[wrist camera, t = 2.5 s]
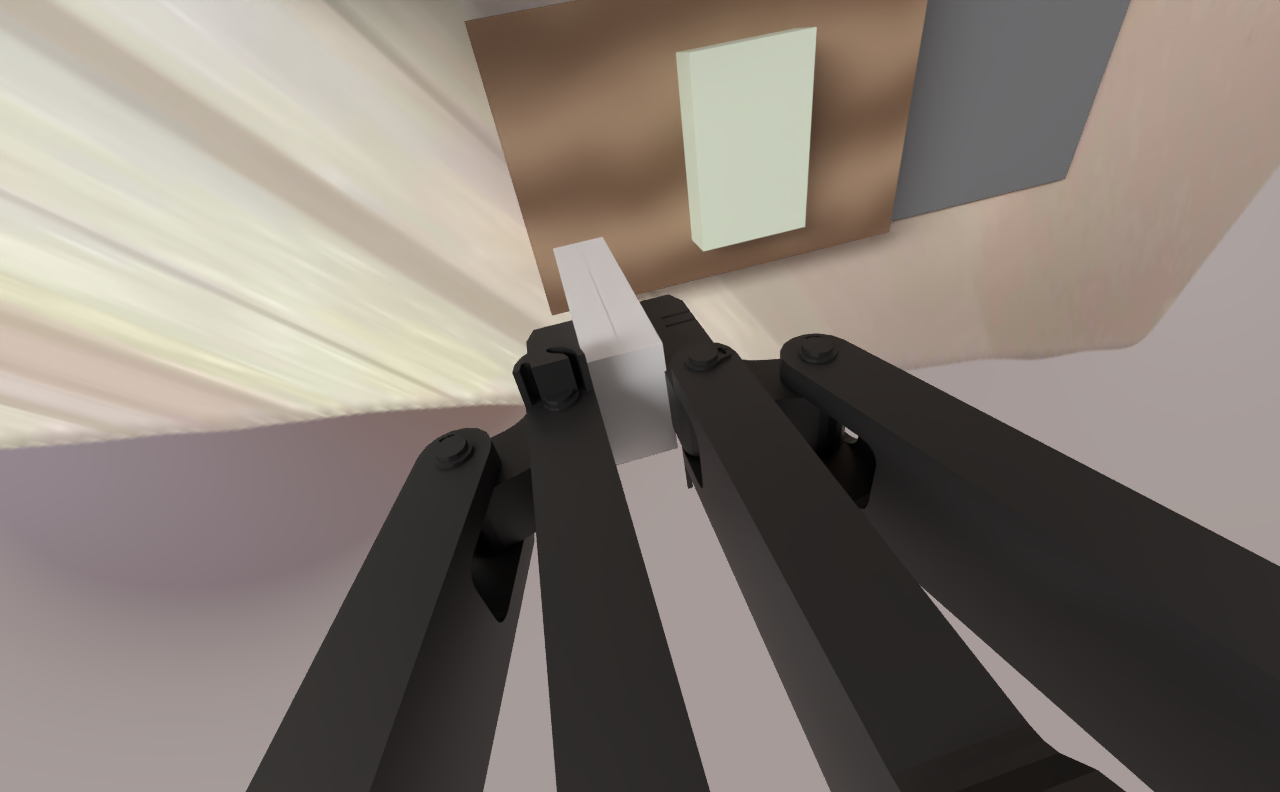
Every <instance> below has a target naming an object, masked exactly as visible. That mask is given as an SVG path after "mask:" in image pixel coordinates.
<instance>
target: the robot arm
mask: <svg viewBox="0 0 1280 792" xmlns="http://www.w3.org/2000/svg"><path fill="white" fill-rule="evenodd" d="M553 251H554V254H555V258H556V262H557V266H558V269H559V273H560V277H561V280H562V284H563V288H564V291H565V295H566V299H567V303H568V306H569V310H570V314H571V317H572V321H568V322H564V323H560V324H556V325H552V326H548V327H544V328H540V329H536V330H533V332H532V334H531V335H530V337H529V339H528V340H527V342H526V343H527V354H526V355H524V356H523V357H521V359H520V360H519V361H518V362H517V363H516V364H515V366H514V369H513V372H512V373H513V376H514V378H515V381H516V384H517V386H518V389H519V391H520V394H521V396H522V399H523V402H524V404H525V407H526V412H527V414H526V415H525V416H524V418H523V419H521V420H520V421H519V422H518V423H517V424H515V425H514V426H512V427H511V428H509V429H507V430H506V431H504V432H502V433H500V434H498V435H496V436H494V437H492V438H490V437H489V435H488V434H487V432H485V431H483V430H480V429H478V428H464V429H459V430H455V431H451V432H449V433H447V434H445V435H442V436H441V437H439V438H437V439H436V440H434V441H433V442H432V443H430V444H429V445H428V446H427V447H426V448H425V449H424V450H423V452H422V453H421V454H420V455H419V457H418V458H417V460H416V462H415V464H414V466H413V468H412V470H411V472H410V474H409V476H408V478H407V480H406V482H405V484H404V486H403V488H402V489H401V491H400V493H399V495H398V497H397V499H396V501H395V503H394V505H393V507H392V509H391V511H390V513H389V515H388V517H387V519H386V521H385V522H384V524H383V526H382V528H381V530H380V532H379V534H378V536H377V538H376V540H375V542H374V544H373V546H372V548H371V550H370V552H369V554H368V555H367V558H366V559H365V561H364V563H363V565H362V567H361V569H360V571H359V573H358V575H357V577H356V579H355V581H354V583H353V585H352V587H351V588H350V591H349V592H348V595H347V596H346V598H345V600H344V602H343V604H342V606H341V608H340V610H339V612H338V614H337V616H336V618H335V620H334V622H333V624H332V625H331V627H330V629H329V631H328V633H327V635H326V637H325V639H324V641H323V643H322V645H321V647H320V649H319V651H318V653H317V655H316V656H315V658H314V660H313V662H312V664H311V666H310V668H309V670H308V672H307V674H306V676H305V678H304V680H303V682H302V684H301V686H300V688H299V689H298V691H297V693H296V695H295V698H294V699H293V701H292V703H291V705H290V707H289V709H288V711H287V713H286V715H285V717H284V719H283V721H282V722H281V724H280V727H279V728H278V730H277V732H276V734H275V736H274V738H273V740H272V742H271V744H270V746H269V748H268V750H267V752H266V754H265V756H264V757H263V759H262V761H261V763H260V765H259V767H258V769H257V771H256V773H255V775H254V777H253V779H252V781H251V783H250V785H249V787H248V789H247V790H246V792H483V789H484V784H485V779H486V774H487V769H488V765H489V759H490V755H491V750H492V745H493V740H494V735H495V730H496V726H497V721H498V716H499V711H500V706H501V701H502V696H503V691H504V687H505V681H506V677H507V672H508V667H509V662H510V657H511V652H512V647H513V643H514V638H515V633H516V628H517V623H518V618H519V613H520V609H521V604H522V599H523V593H524V589H525V584H526V579H527V574H528V570H529V565H530V560H531V555H532V550H533V545H534V533H535V532H536V537H537V548H538V562H539V574H540V587H541V599H542V612H543V624H544V636H545V649H546V660H547V674H548V686H549V698H550V710H551V723H552V735H553V748H554V760H555V773H556V785H557V792H710V790H709V786H708V783H707V779H706V776H705V773H704V769H703V766H702V762H701V759H700V755H699V752H698V748H697V745H696V741H695V738H694V734H693V731H692V728H691V724H690V720H689V717H688V713H687V710H686V706H685V703H684V699H683V696H682V693H681V689H680V686H679V682H678V679H677V675H676V672H675V668H674V665H673V662H672V658H671V655H670V651H669V648H668V644H667V641H666V637H665V634H664V630H663V627H662V623H661V620H660V617H659V613H658V609H657V606H656V603H655V599H654V595H653V592H652V588H651V585H650V582H649V578H648V574H647V571H646V568H645V564H644V561H643V557H642V554H641V550H640V547H639V543H638V540H637V536H636V533H635V529H634V526H633V522H632V519H631V516H630V512H629V509H628V505H627V502H626V499H625V495H624V491H623V488H622V484H621V481H620V477H619V474H618V471H617V467H616V465H619V464H623V463H627V462H630V461H633V460H637V459H641V458H644V457H648V456H651V455H655V454H658V453H661V452H665V451H669V450H672V449H676V448H677V447H678V446H677V439H676V434H677V436H678V438H679V440H680V443H681V445H682V450H683V457H684V463H685V471H686V479H687V485H688V488H692V487H693V484H694V486H695V489H696V491H697V493H698V495H699V497H700V500H701V502H702V504H703V507H704V509H705V511H706V513H707V515H708V518H709V520H710V522H711V524H712V527H713V529H714V531H715V533H716V536H717V538H718V540H719V542H720V544H721V547H722V549H723V551H724V553H725V556H726V558H727V560H728V562H729V565H730V567H731V569H732V571H733V574H734V576H735V578H736V580H737V582H738V585H739V587H740V589H741V591H742V593H743V596H744V598H745V600H746V603H747V605H748V607H749V609H750V612H751V614H752V616H753V618H754V621H755V623H756V625H757V627H758V629H759V632H760V634H761V636H762V638H763V641H764V643H765V645H766V647H767V650H768V652H769V654H770V656H771V659H772V661H773V663H774V665H775V668H776V670H777V672H778V674H779V677H780V679H781V681H782V683H783V685H784V688H785V690H786V692H787V694H788V697H789V699H790V701H791V703H792V706H793V708H794V710H795V712H796V715H797V717H798V719H799V721H800V723H801V726H802V728H803V730H804V732H805V734H806V737H807V739H808V741H809V743H810V746H811V748H812V750H813V752H814V755H815V757H816V759H817V762H818V764H819V766H820V768H821V771H822V773H823V775H824V777H825V779H826V782H827V784H828V786H829V788H830V791H831V792H1126V791H1124V790H1123V789H1122V788H1120V787H1119V786H1118V785H1116V784H1115V783H1114V782H1113V781H1111V780H1110V779H1109V778H1107V777H1106V776H1105V775H1103V774H1102V773H1101V772H1099V771H1098V770H1096V769H1094V768H1092V767H1090V766H1087V765H1085V764H1083V763H1081V762H1079V761H1076V760H1074V759H1072V758H1070V757H1067V756H1065V755H1063V754H1061V753H1059V752H1058V751H1056V750H1055V749H1054V748H1053V747H1051V746H1050V745H1049V744H1047V743H1046V742H1045V741H1044V740H1043V739H1042V738H1041V737H1040V736H1039V735H1038V734H1037V733H1036V731H1034V730H1033V728H1032V727H1031V726H1030V725H1029V724H1028V722H1027V721H1026V720H1025V719H1024V717H1023V716H1022V715H1021V714H1020V713H1019V711H1018V710H1017V709H1016V707H1015V706H1014V705H1013V704H1012V702H1011V701H1010V700H1009V698H1008V697H1007V696H1006V694H1005V693H1004V692H1003V691H1002V689H1001V688H1000V687H999V686H998V685H997V683H996V682H995V681H994V679H993V678H992V677H991V675H990V674H989V673H988V672H987V670H986V669H985V668H984V667H983V666H982V664H981V663H980V661H979V660H978V659H977V658H976V657H975V655H974V654H973V653H972V651H971V650H970V649H969V647H968V646H967V645H966V644H965V642H964V641H963V640H962V639H961V637H960V636H959V635H958V633H957V632H956V631H955V630H954V628H953V627H952V626H951V625H950V623H949V622H948V621H947V620H946V618H945V617H944V616H943V615H942V613H941V612H940V611H939V610H938V608H937V607H936V606H935V604H934V603H933V602H932V601H931V599H930V598H929V597H928V595H927V594H926V593H925V592H924V590H923V589H922V588H921V587H923V588H924V589H925V590H926V591H927V592H929V594H931V595H932V596H933V597H934V598H935V599H936V600H937V601H939V602H940V603H941V604H942V605H943V606H944V607H945V608H946V609H948V610H949V611H950V612H951V613H952V614H953V615H954V616H956V617H957V618H958V619H959V620H960V621H961V622H962V623H963V624H965V625H966V626H967V627H968V628H969V629H970V630H972V631H973V632H974V633H975V634H976V635H977V636H978V637H979V638H981V639H982V640H983V641H984V642H985V643H986V644H987V645H988V646H990V647H991V648H992V649H993V650H994V651H995V652H996V653H998V654H999V655H1000V656H1001V657H1002V658H1003V659H1004V660H1005V661H1007V662H1008V663H1009V664H1010V665H1011V666H1012V667H1013V668H1015V669H1016V670H1017V671H1018V672H1019V673H1020V674H1021V675H1022V676H1024V677H1025V678H1026V679H1027V680H1028V681H1029V682H1030V683H1032V684H1033V685H1034V686H1035V687H1036V688H1037V689H1038V690H1040V691H1041V692H1042V693H1043V694H1044V695H1045V696H1046V697H1047V698H1049V699H1050V700H1051V701H1052V702H1053V703H1054V704H1055V705H1056V706H1058V707H1059V708H1060V709H1061V710H1062V711H1063V712H1065V713H1066V714H1067V715H1068V716H1069V717H1070V718H1071V719H1073V720H1074V721H1075V722H1076V723H1077V724H1078V725H1079V726H1080V727H1082V728H1083V729H1084V730H1085V731H1086V732H1087V733H1088V734H1089V735H1091V736H1092V737H1093V738H1094V739H1095V740H1096V741H1097V742H1099V743H1100V744H1101V745H1102V746H1103V747H1104V748H1105V749H1106V750H1108V751H1109V752H1110V753H1111V754H1112V755H1113V756H1114V757H1116V758H1117V759H1118V760H1119V761H1120V762H1121V763H1122V764H1123V765H1125V766H1126V767H1127V768H1128V769H1129V770H1130V771H1131V772H1133V773H1134V774H1135V775H1136V776H1137V777H1138V778H1139V779H1141V780H1142V781H1143V782H1144V783H1145V784H1146V785H1147V786H1148V787H1150V788H1151V789H1152V790H1153V791H1154V792H1280V566H1278V565H1276V564H1274V563H1272V562H1270V561H1268V560H1266V559H1264V558H1263V557H1260V556H1259V555H1257V554H1255V553H1253V552H1251V551H1249V550H1247V549H1245V548H1243V547H1241V546H1240V545H1238V544H1236V543H1234V542H1232V541H1230V540H1228V539H1226V538H1224V537H1222V536H1220V535H1218V534H1216V533H1214V532H1212V531H1211V530H1208V529H1207V528H1205V527H1203V526H1201V525H1199V524H1197V523H1195V522H1193V521H1191V520H1190V519H1188V518H1186V517H1184V516H1182V515H1180V514H1178V513H1176V512H1174V511H1172V510H1170V509H1168V508H1166V507H1164V506H1163V505H1161V504H1159V503H1157V502H1155V501H1153V500H1151V499H1149V498H1147V497H1145V496H1143V495H1141V494H1140V493H1138V492H1136V491H1134V490H1132V489H1130V488H1128V487H1126V486H1124V485H1122V484H1120V483H1118V482H1116V481H1115V480H1112V479H1111V478H1109V477H1107V476H1105V475H1103V474H1101V473H1099V472H1097V471H1095V470H1093V469H1092V468H1090V467H1088V466H1086V465H1084V464H1082V463H1080V462H1078V461H1076V460H1074V459H1072V458H1070V457H1068V456H1066V455H1065V454H1063V453H1061V452H1059V451H1057V450H1055V449H1053V448H1051V447H1049V446H1047V445H1045V444H1043V443H1042V442H1039V441H1038V440H1036V439H1034V438H1032V437H1030V436H1028V435H1026V434H1024V433H1022V432H1020V431H1018V430H1017V429H1014V428H1013V427H1011V426H1009V425H1007V424H1005V423H1003V422H1001V421H999V420H997V419H995V418H993V417H992V416H990V415H987V414H986V413H984V412H982V411H980V410H978V409H976V408H974V407H972V406H970V405H968V404H966V403H965V402H963V401H961V400H959V399H957V398H955V397H953V396H951V395H949V394H947V393H945V392H944V391H941V390H940V389H938V388H936V387H934V386H932V385H930V384H928V383H926V382H924V381H922V380H920V379H919V378H917V377H915V376H913V375H911V374H909V373H907V372H905V371H903V370H901V369H899V368H897V367H895V366H894V365H892V364H890V363H888V362H886V361H884V360H882V359H880V358H878V357H876V356H874V355H872V354H870V353H869V352H867V351H865V350H863V349H861V348H859V347H857V346H855V345H853V344H851V343H849V342H847V341H845V340H843V339H841V338H838V337H835V336H832V335H825V334H806V335H802V336H798V337H795V338H792V339H791V340H789V341H788V342H786V343H785V344H784V345H783V347H782V349H781V350H780V359H772V360H742V359H741V358H740V356H739V355H738V354H737V353H736V352H735V351H734V350H733V349H732V348H730V347H729V346H726V345H723V344H720V343H713V341H712V340H711V339H710V337H709V336H708V335H707V333H706V332H705V330H704V329H703V328H702V326H701V325H700V324H699V322H698V321H697V320H696V319H695V317H694V316H693V314H692V313H691V312H690V310H689V309H688V308H687V306H686V305H685V303H684V302H683V301H682V300H680V299H677V298H675V297H673V296H671V295H669V294H668V295H665V296H661V297H657V298H653V299H649V300H645V301H641V302H639V301H638V299H637V297H636V295H635V294H634V292H633V290H632V288H631V286H630V285H629V283H628V281H627V279H626V278H625V276H624V274H623V272H622V270H621V269H620V267H619V265H618V263H617V262H616V260H615V258H614V256H613V254H612V253H611V251H610V249H609V247H608V246H607V244H606V242H605V240H604V239H603V237H600V238H595V239H591V240H587V241H583V242H579V243H574V244H570V245H566V246H562V247H557V248H553ZM845 427H847V428H848V429H849V430H851V431H852V432H854V433H855V434H857V435H858V439H856V438H853V437H851V436H850V435H848V434H847V433H846V432H844V431H845ZM692 482H693V484H692Z"/></svg>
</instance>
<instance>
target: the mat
mask: <svg viewBox="0 0 1280 792" xmlns="http://www.w3.org/2000/svg"><path fill="white" fill-rule="evenodd" d="M1130 1H1131V0H928V1H927V7H926V13H925V19H924V25H923V31H922V37H921V43H920V49H919V55H918V61H917V67H916V73H915V79H914V85H913V91H912V97H911V103H910V109H909V115H908V121H907V127H906V133H905V139H904V145H903V151H902V157H901V163H900V169H899V175H898V181H897V187H896V193H895V199H894V205H893V211H892V217H891V221H895V220H899V219H903V218H907V217H911V216H915V215H919V214H923V213H927V212H931V211H935V210H939V209H943V208H947V207H952V206H956V205H960V204H964V203H968V202H972V201H976V200H980V199H984V198H988V197H992V196H996V195H1000V194H1004V193H1008V192H1012V191H1017V190H1021V189H1025V188H1029V187H1033V186H1037V185H1041V184H1045V183H1049V182H1053V181H1057V180H1061V179H1065V178H1066V175H1067V172H1068V169H1069V167H1070V164H1071V161H1072V158H1073V156H1074V153H1075V150H1076V148H1077V145H1078V142H1079V139H1080V137H1081V134H1082V131H1083V129H1084V126H1085V123H1086V120H1087V118H1088V115H1089V112H1090V110H1091V107H1092V104H1093V101H1094V99H1095V96H1096V93H1097V90H1098V88H1099V85H1100V82H1101V80H1102V77H1103V74H1104V71H1105V69H1106V66H1107V63H1108V61H1109V58H1110V55H1111V52H1112V50H1113V47H1114V44H1115V42H1116V39H1117V36H1118V33H1119V31H1120V28H1121V25H1122V22H1123V20H1124V17H1125V14H1126V12H1127V9H1128V6H1129V3H1130Z"/></svg>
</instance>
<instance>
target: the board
mask: <svg viewBox="0 0 1280 792" xmlns="http://www.w3.org/2000/svg"><path fill="white" fill-rule="evenodd" d="M927 1H928V0H576V1H570V2H565V3H560V4H554V5H549V6H544V7H538V8H533V9H528V10H522V11H517V12H512V13H506V14H501V15H496V16H490V17H485V18H480V19H474V20H469V21H465V24H466V28H467V31H468V35H469V38H470V41H471V45H472V48H473V51H474V55H475V58H476V61H477V65H478V68H479V71H480V75H481V78H482V82H483V85H484V88H485V92H486V95H487V98H488V102H489V105H490V108H491V112H492V115H493V118H494V122H495V125H496V129H497V132H498V135H499V139H500V142H501V145H502V149H503V152H504V155H505V159H506V162H507V165H508V169H509V172H510V176H511V179H512V182H513V186H514V189H515V192H516V196H517V199H518V202H519V206H520V209H521V212H522V216H523V219H524V223H525V226H526V229H527V233H528V236H529V239H530V243H531V246H532V249H533V253H534V256H535V259H536V263H537V266H538V270H539V273H540V276H541V280H542V283H543V286H544V290H545V293H546V296H547V300H548V303H549V306H550V310H551V313H552V315H556V314H560V313H564V312H568V311H570V310H569V306H568V303H567V299H566V295H565V291H564V288H563V284H562V280H561V277H560V273H559V269H558V266H557V262H556V258H555V254H554V251H553V248H557V247H562V246H566V245H570V244H574V243H579V242H583V241H587V240H591V239H595V238H600V237H603V239H604V240H605V242H606V244H607V246H608V247H609V249H610V251H611V253H612V254H613V256H614V258H615V260H616V262H617V263H618V265H619V267H620V269H621V270H622V272H623V274H624V276H625V278H626V279H627V281H628V283H629V285H630V286H631V288H632V290H633V292H634V294H635V295H636V294H640V293H644V292H648V291H652V290H656V289H660V288H665V287H669V286H673V285H677V284H681V283H685V282H689V281H693V280H697V279H701V278H705V277H709V276H713V275H717V274H721V273H725V272H729V271H733V270H737V269H741V268H745V267H749V266H753V265H757V264H761V263H765V262H769V261H773V260H777V259H781V258H785V257H789V256H793V255H798V254H802V253H806V252H810V251H814V250H818V249H822V248H826V247H830V246H834V245H838V244H842V243H846V242H850V241H854V240H858V239H862V238H866V237H870V236H874V235H878V234H882V233H886V232H889V229H890V223H891V217H892V211H893V205H894V199H895V193H896V187H897V181H898V175H899V169H900V163H901V157H902V151H903V145H904V139H905V133H906V127H907V121H908V115H909V109H910V103H911V97H912V91H913V85H914V79H915V73H916V67H917V61H918V55H919V49H920V43H921V37H922V31H923V25H924V19H925V13H926V7H927ZM807 27H817V31H816V48H815V65H814V82H813V100H812V117H811V134H810V151H809V168H808V185H807V202H806V219H805V227H802V228H798V229H794V230H790V231H786V232H782V233H778V234H774V235H770V236H765V237H761V238H757V239H753V240H749V241H745V242H741V243H737V244H732V245H728V246H724V247H720V248H716V249H712V250H708V251H704V252H703V251H702V250H701V249H700V248H699V246H698V245H697V244H696V243H695V242H694V241H693V240H692V233H691V222H690V210H689V199H688V187H687V176H686V165H685V153H684V142H683V130H682V119H681V107H680V96H679V84H678V73H677V61H676V52H680V51H685V50H690V49H695V48H700V47H705V46H710V45H715V44H720V43H725V42H730V41H735V40H740V39H745V38H750V37H755V36H759V35H764V34H769V33H774V32H779V31H784V30H789V29H794V28H807Z"/></svg>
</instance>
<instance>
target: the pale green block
mask: <svg viewBox="0 0 1280 792" xmlns="http://www.w3.org/2000/svg"><path fill="white" fill-rule="evenodd" d="M816 31H817V27H807V28H794V29H789V30H784V31H779V32H774V33H769V34H764V35H759V36H755V37H750V38H745V39H740V40H735V41H730V42H725V43H720V44H715V45H710V46H705V47H700V48H695V49H690V50H685V51H680V52H676V61H677V73H678V84H679V96H680V107H681V119H682V130H683V142H684V153H685V165H686V176H687V187H688V199H689V210H690V222H691V233H692V240H693V241H694V242H695V243H696V244H697V245H698V246H699V248H700V249H701V250H702V251H703V252H704V251H708V250H712V249H716V248H720V247H724V246H728V245H732V244H737V243H741V242H745V241H749V240H753V239H757V238H761V237H765V236H770V235H774V234H778V233H782V232H786V231H790V230H794V229H798V228H802V227H805V219H806V202H807V185H808V168H809V151H810V134H811V117H812V100H813V82H814V65H815V48H816Z"/></svg>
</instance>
